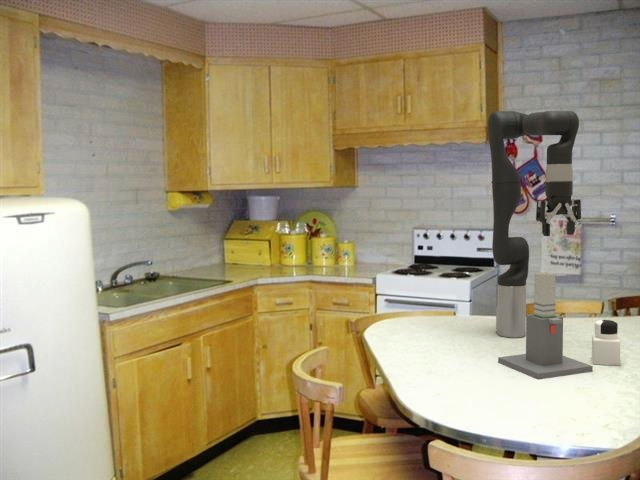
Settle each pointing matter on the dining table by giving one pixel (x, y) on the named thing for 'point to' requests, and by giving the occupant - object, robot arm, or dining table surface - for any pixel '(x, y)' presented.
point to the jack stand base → (544, 351)
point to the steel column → (544, 295)
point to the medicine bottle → (606, 343)
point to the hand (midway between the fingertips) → (558, 235)
